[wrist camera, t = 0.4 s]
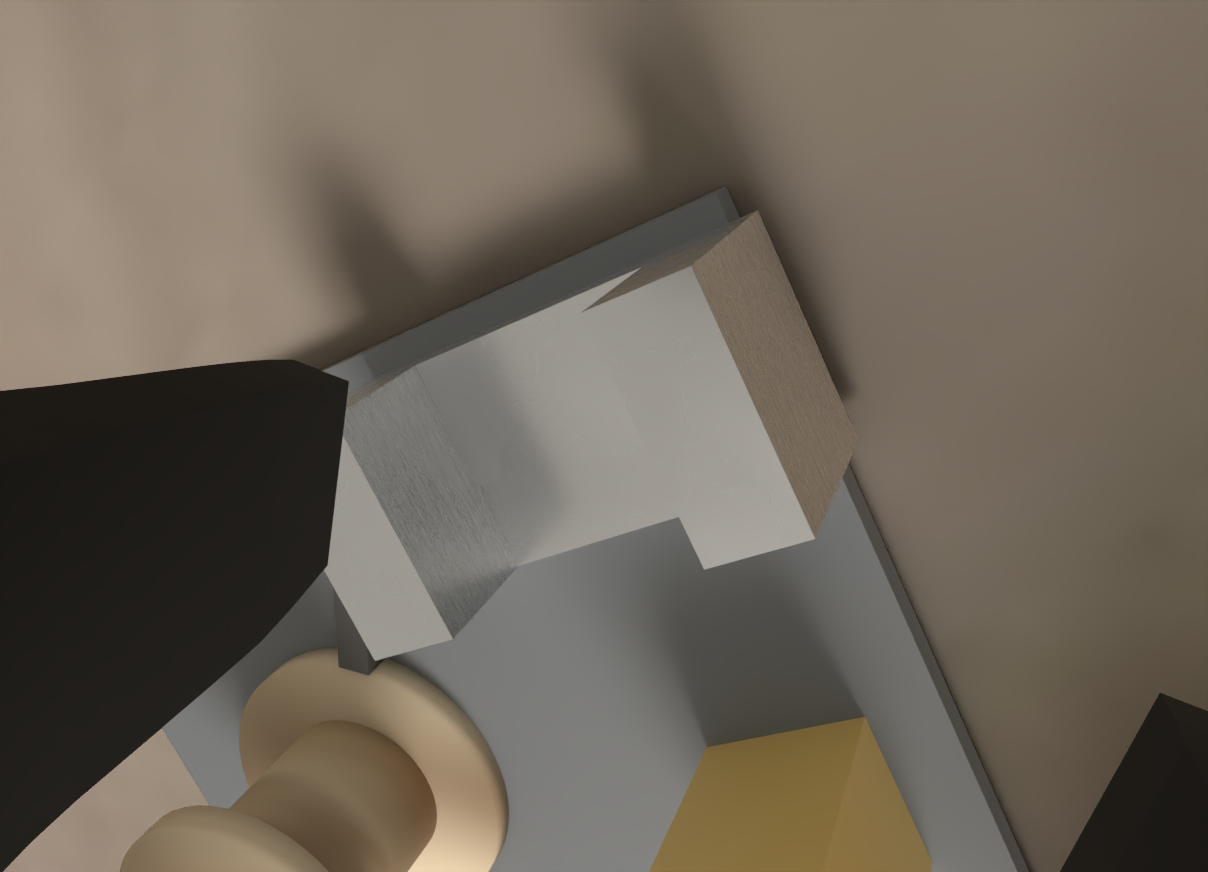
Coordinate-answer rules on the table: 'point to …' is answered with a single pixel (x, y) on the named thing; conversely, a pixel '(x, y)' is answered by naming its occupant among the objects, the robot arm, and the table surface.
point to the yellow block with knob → (794, 808)
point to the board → (649, 652)
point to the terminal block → (588, 437)
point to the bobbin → (345, 782)
